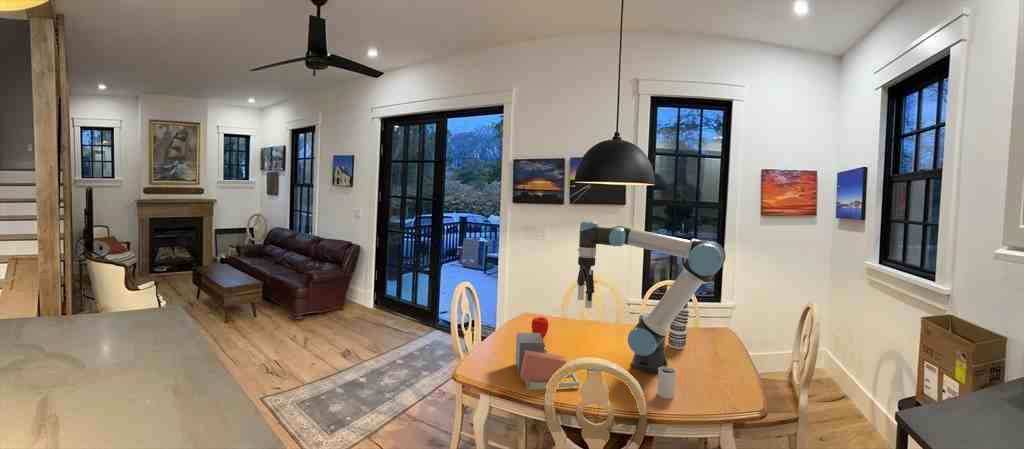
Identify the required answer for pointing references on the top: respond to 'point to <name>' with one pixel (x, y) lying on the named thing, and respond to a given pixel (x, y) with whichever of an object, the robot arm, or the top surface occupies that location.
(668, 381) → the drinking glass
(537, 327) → the apple
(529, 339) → the dispenser
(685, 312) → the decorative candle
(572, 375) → the tray
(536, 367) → the pink rectangular box
